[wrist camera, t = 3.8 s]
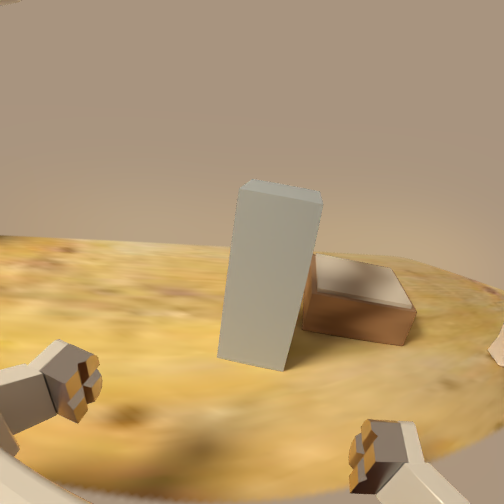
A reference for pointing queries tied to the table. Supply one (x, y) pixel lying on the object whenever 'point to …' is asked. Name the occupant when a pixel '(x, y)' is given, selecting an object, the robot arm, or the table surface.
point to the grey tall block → (267, 271)
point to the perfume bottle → (498, 348)
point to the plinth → (356, 301)
